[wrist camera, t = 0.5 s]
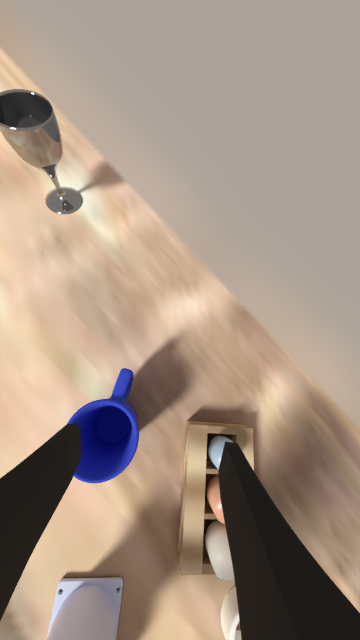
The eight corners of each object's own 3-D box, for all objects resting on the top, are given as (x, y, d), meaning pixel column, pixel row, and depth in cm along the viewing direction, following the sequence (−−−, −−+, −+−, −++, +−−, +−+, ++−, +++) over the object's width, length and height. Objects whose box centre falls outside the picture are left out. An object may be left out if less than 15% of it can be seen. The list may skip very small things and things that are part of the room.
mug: (156, 379, 34) (158, 378, 25) (131, 458, 31) (122, 493, 21) (109, 364, 34) (94, 358, 25) (78, 443, 30) (45, 472, 21)
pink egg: (233, 509, 28) (243, 525, 25) (205, 509, 28) (212, 524, 25) (233, 476, 30) (243, 486, 27) (207, 475, 29) (213, 485, 26)
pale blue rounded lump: (233, 466, 30) (242, 476, 27) (207, 465, 29) (213, 474, 26) (233, 436, 31) (242, 442, 28) (208, 434, 31) (214, 440, 28)
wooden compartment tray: (245, 554, 29) (256, 573, 26) (177, 555, 28) (180, 574, 25) (244, 424, 34) (252, 428, 31) (186, 420, 33) (190, 424, 30)
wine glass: (69, 222, 41) (26, 136, 27) (34, 203, 41) (-27, 108, 27) (92, 197, 43) (64, 107, 29) (59, 179, 43) (16, 81, 29)
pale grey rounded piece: (233, 558, 27) (243, 580, 24) (203, 558, 26) (211, 581, 23) (233, 520, 28) (243, 537, 25) (205, 520, 28) (212, 537, 24)
